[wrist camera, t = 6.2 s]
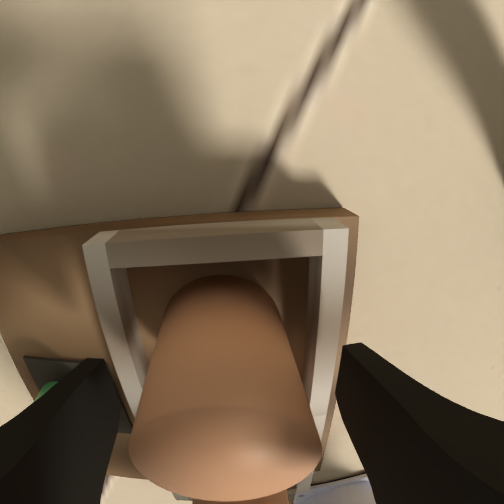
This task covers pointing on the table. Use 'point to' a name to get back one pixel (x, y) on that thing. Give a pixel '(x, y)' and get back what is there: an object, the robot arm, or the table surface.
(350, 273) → the wooden peg sorting tray
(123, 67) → the table surface
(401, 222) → the table surface
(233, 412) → the tan rounded peg
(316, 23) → the table surface
